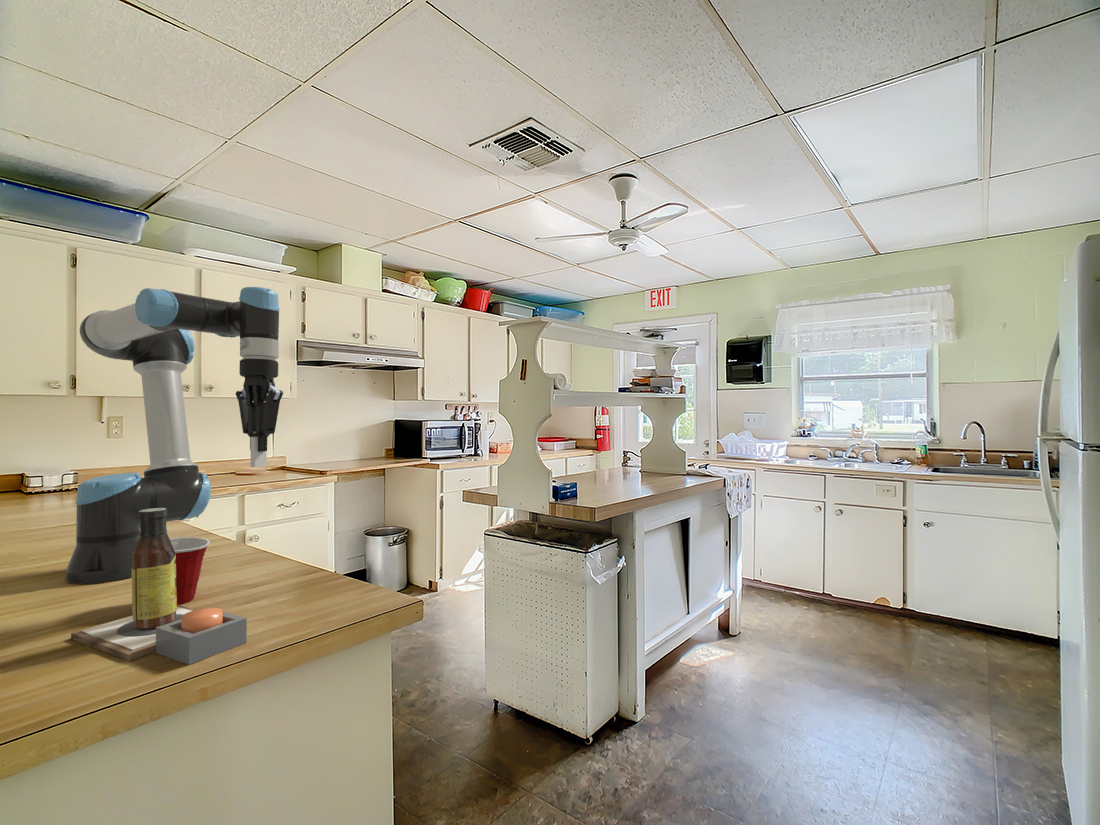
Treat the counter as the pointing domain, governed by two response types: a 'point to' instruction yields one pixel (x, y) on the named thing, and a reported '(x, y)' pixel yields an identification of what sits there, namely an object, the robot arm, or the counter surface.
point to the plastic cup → (188, 565)
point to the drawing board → (123, 637)
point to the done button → (201, 619)
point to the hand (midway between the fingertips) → (258, 466)
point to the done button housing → (200, 639)
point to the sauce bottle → (153, 572)
